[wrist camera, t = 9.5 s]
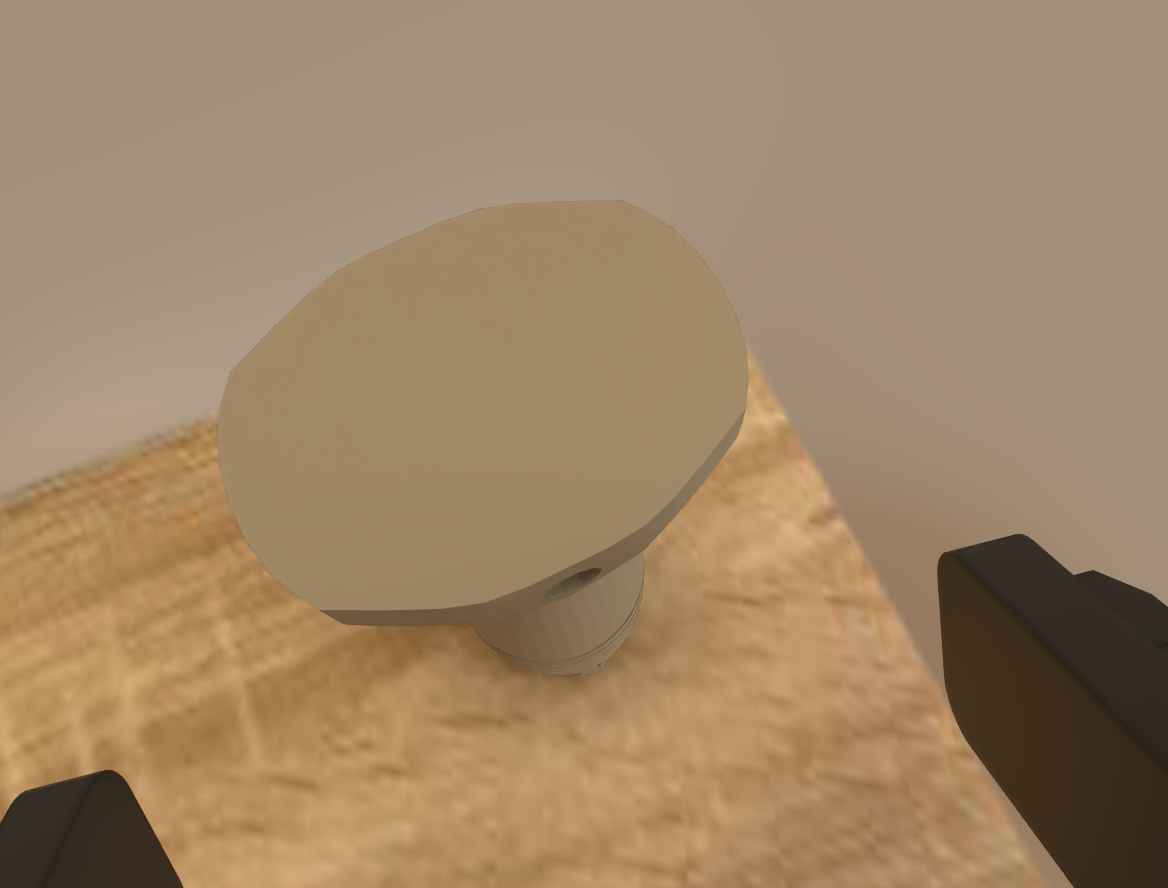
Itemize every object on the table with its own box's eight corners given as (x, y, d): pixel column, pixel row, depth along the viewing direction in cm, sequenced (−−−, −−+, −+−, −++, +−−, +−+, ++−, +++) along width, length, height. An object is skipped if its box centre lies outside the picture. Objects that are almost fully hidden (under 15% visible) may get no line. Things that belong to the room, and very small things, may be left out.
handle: (423, 591, 26) (170, 338, 12) (635, 490, 27) (631, 140, 13) (495, 759, 24) (298, 698, 10) (718, 647, 25) (820, 444, 11)
